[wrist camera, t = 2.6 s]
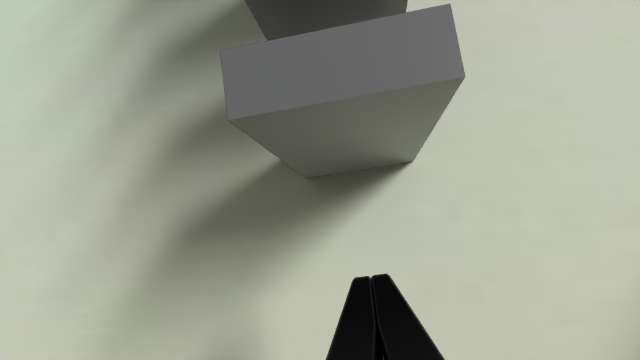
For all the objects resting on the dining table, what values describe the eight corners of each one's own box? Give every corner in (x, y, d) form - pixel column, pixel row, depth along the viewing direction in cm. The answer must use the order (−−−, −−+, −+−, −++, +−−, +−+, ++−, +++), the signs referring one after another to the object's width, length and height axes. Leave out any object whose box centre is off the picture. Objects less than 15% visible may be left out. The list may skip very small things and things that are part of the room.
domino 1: (396, 68, 18) (425, -120, 8) (294, 88, 19) (208, -67, 9) (391, 37, 18) (413, -182, 9) (290, 57, 19) (201, -126, 9)
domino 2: (413, 161, 18) (465, 76, 8) (305, 178, 18) (227, 120, 8) (407, 127, 18) (450, 3, 8) (301, 145, 18) (219, 50, 9)
